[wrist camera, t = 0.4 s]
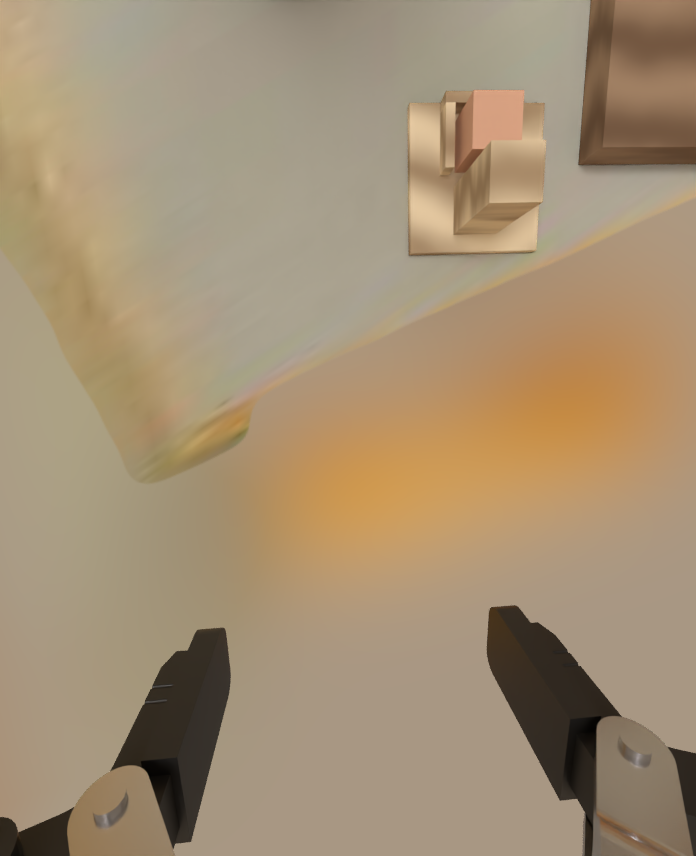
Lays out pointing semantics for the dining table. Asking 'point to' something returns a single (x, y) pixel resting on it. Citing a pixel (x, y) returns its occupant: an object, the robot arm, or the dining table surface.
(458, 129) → the block
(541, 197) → the beige wooden block stand
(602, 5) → the dock
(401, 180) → the dining table surface
